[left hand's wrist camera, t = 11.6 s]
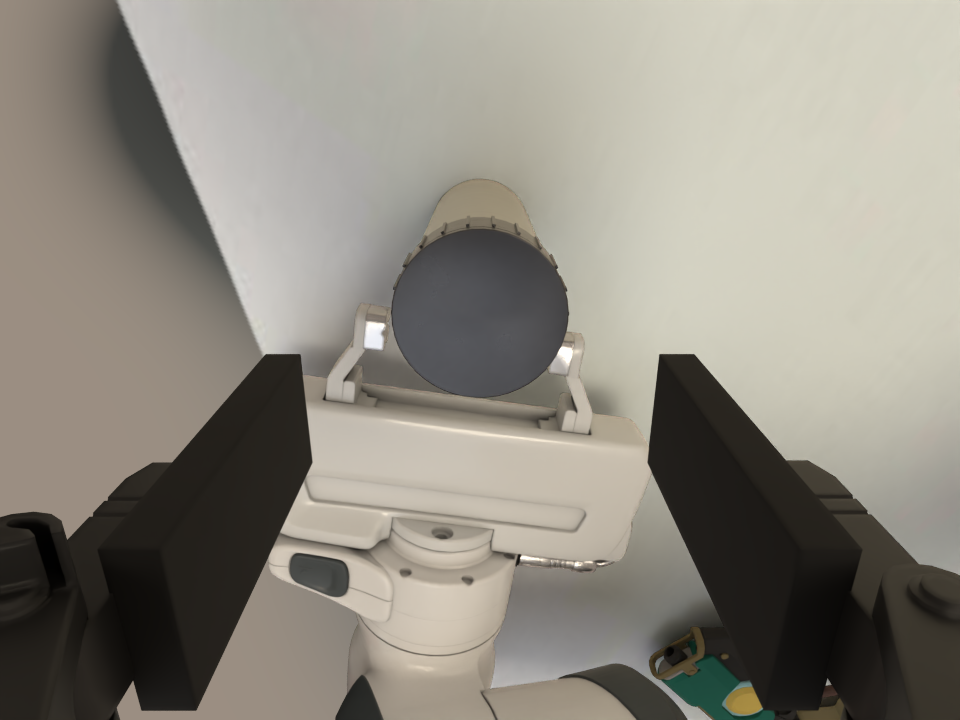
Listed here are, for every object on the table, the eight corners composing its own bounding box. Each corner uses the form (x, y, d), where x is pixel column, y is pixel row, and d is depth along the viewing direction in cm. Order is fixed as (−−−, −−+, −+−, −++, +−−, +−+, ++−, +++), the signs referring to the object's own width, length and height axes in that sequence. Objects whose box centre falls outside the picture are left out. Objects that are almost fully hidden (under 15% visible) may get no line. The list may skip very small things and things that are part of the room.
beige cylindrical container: (545, 205, 35) (591, 275, 20) (502, 291, 36) (516, 411, 22) (455, 161, 34) (438, 202, 19) (416, 252, 36) (373, 350, 21)
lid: (591, 258, 22) (604, 274, 20) (516, 396, 24) (520, 425, 22) (438, 185, 21) (433, 193, 19) (373, 335, 23) (362, 358, 21)
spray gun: (890, 703, 49) (704, 756, 52) (844, 556, 43) (634, 626, 46) (924, 758, 46) (721, 811, 48) (879, 606, 39) (648, 678, 42)
